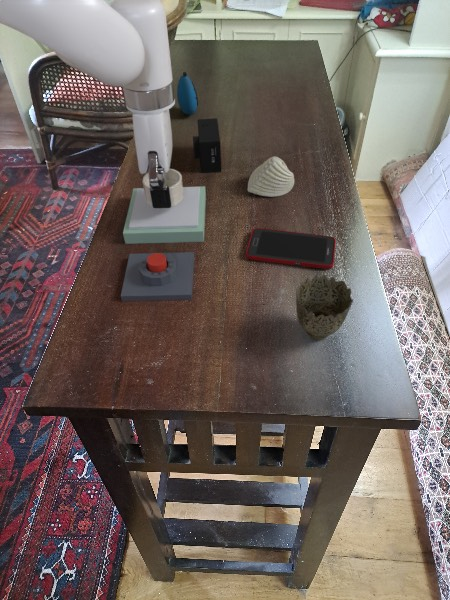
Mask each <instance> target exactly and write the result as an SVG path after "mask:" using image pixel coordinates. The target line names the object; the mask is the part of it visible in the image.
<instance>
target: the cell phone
mask: <svg viewBox="0 0 450 600" xmlns="http://www.w3.org/2000/svg"><path fill="white" fill-rule="evenodd" d="M249 236H250V237H249V239H248V243H247V246H246V250H245V258H246V259H247V260H250V261H251V260H252V261H258V262H259V261H260V262H267V263H275V264H283V265H292V266H301V267H307V268H314V269H323V270H330V269H331V270H332V269H333V268H334V265H335V258H336V257H335V255H336V246H337V245H336V244H337V243H336V241H337V240H336V238H335V237H334V236H331V235H320V234H313V233H304V232H298V231H297V232H295V231H287V230H278V229H270V228H260V227H256V228H253V229H252V230H251V233H250V235H249Z"/></svg>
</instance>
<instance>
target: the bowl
mask: <svg viewBox="0 0 450 600" xmlns="http://www.w3.org/2000/svg"><path fill="white" fill-rule="evenodd" d="M158 170H163V168H160V169H158ZM158 177H159V180H162V174H158ZM166 179H167V186H169V191H170V198H171V207H173V206H175V205H177V204H178V203H180V202H181V200H182V199H183V197H184V191H183V187H184V183H183V182H184V181H183V175H182V174H181V172H180V171H178V170H177V169H174V168H173V169H169V171H168V172H167V173H166ZM141 182H142V188H144V193H145V199H146V201H147V203H148V204H150V205H152V200H151V194H150V186H149V174H148V172H146V173H145V174H144V176H143V177H142V181H141ZM162 182H163V180H162Z"/></svg>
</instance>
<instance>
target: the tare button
mask: <svg viewBox="0 0 450 600" xmlns="http://www.w3.org/2000/svg"><path fill="white" fill-rule="evenodd" d="M153 253H154V254H152V255H150V256H149V257H148V258H147V264H148V269H149V270H150V271H151V272H153V273H158V272H162V271H164V270H165V269H166V268H167V262H166V257H165V255H163V254H161V253H162V252H153Z"/></svg>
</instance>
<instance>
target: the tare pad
mask: <svg viewBox="0 0 450 600" xmlns="http://www.w3.org/2000/svg"><path fill="white" fill-rule="evenodd" d="M154 253H155V252H145V253H143V252H142V253H129V254H128V259H127V263H126V268H125V273H124V278H123V282H122V287H121V292H120V299H121V301H122V302H140V301H141V302H143V301H184V300H185V301H187V300H188V301H189V300H190V301H191V300H193V292H194V291H193V290H194V272H195V260H196V259H195V252H194V251H185V252H184V251H183V252H182V251H181V252H160V253H161V254H163V255H165V257H166V262H167V268H166V269H165V270H164V271H162V272H158V273H153V272H151V271H150V270H149V269H148V264H147V258H148V257H149V256H150V255H152V254H154Z"/></svg>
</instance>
